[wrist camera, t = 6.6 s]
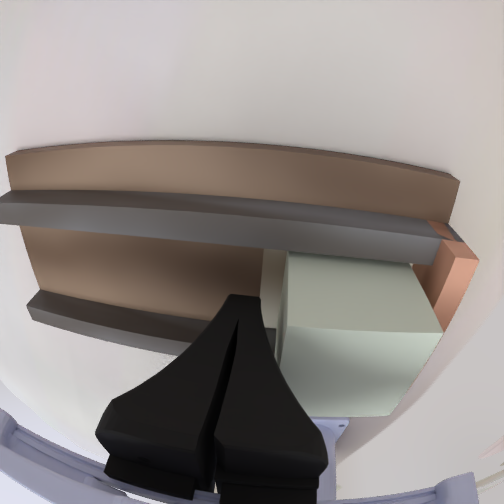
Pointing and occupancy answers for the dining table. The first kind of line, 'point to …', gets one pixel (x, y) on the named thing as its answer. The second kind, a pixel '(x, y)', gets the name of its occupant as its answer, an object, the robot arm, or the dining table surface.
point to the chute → (215, 230)
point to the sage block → (352, 333)
